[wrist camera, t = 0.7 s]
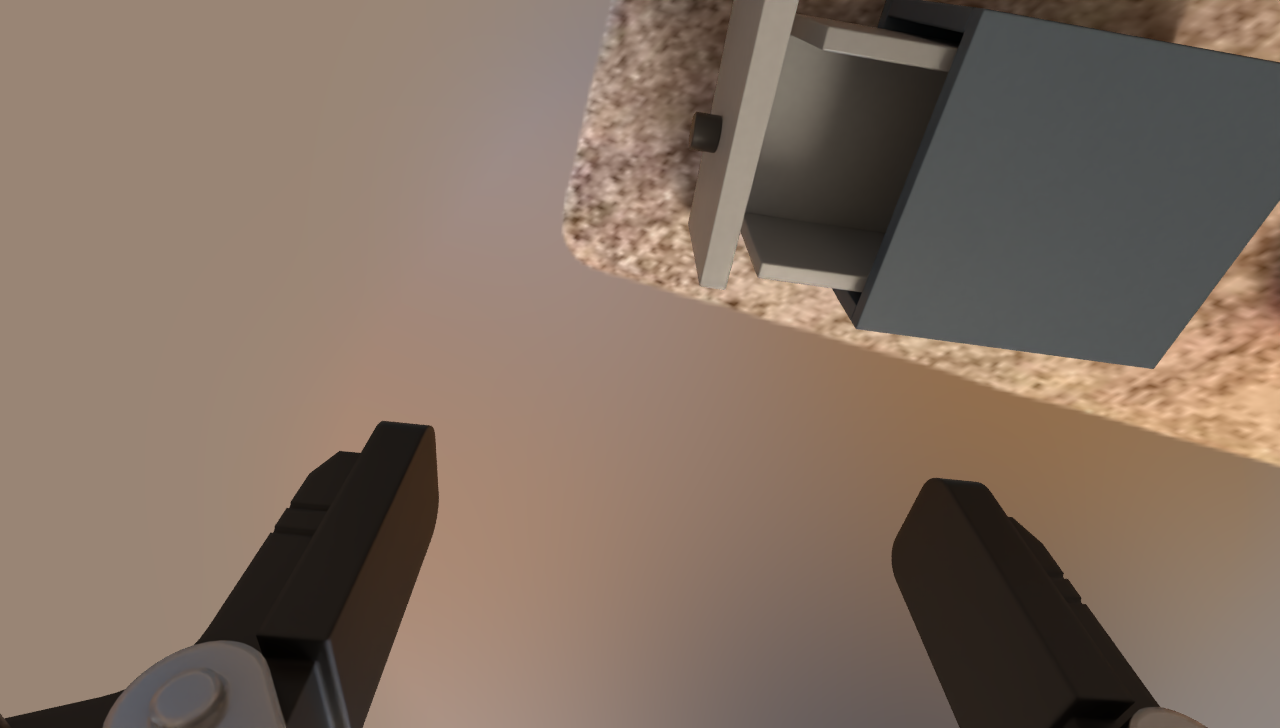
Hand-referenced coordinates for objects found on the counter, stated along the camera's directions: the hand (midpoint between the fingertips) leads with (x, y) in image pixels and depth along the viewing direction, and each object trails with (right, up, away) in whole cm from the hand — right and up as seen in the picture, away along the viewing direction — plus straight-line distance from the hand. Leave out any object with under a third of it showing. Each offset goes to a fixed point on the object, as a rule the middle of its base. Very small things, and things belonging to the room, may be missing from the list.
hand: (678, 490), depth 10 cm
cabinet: (+17, +13, +22) cm, 31 cm away
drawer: (+9, +14, +21) cm, 27 cm away
